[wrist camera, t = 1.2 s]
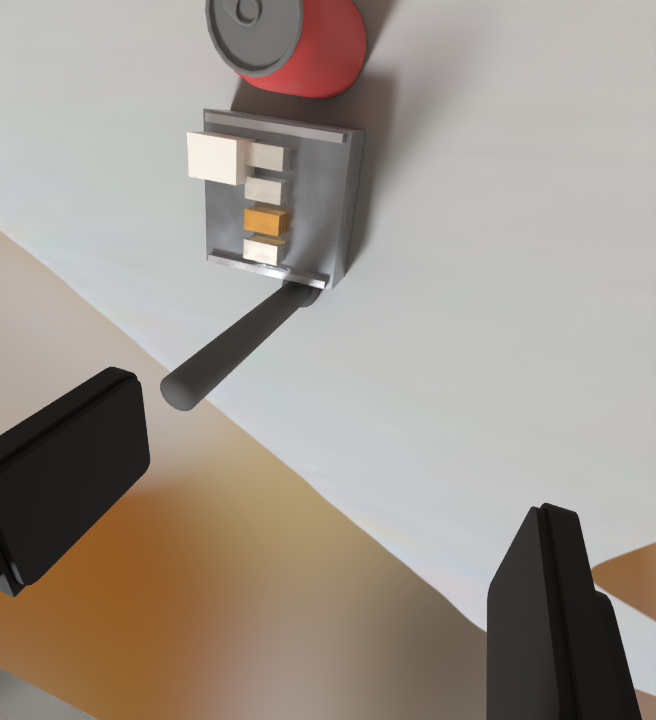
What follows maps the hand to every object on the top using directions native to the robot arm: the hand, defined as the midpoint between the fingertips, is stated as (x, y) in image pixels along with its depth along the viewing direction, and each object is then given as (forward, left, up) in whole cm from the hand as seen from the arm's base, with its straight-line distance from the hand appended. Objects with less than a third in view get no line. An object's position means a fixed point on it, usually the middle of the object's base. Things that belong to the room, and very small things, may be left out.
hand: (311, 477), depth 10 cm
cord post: (+11, +8, -30) cm, 33 cm away
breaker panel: (+13, 0, -30) cm, 33 cm away
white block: (+17, -3, -26) cm, 31 cm away
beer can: (+11, -11, -31) cm, 34 cm away
